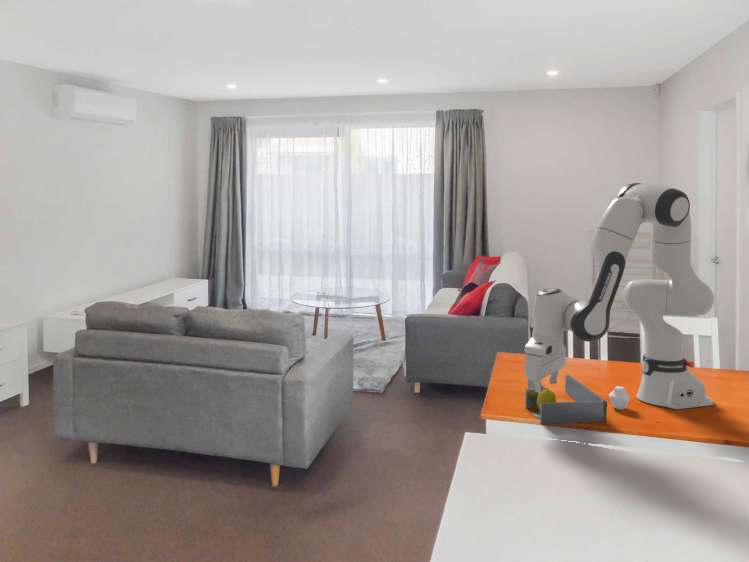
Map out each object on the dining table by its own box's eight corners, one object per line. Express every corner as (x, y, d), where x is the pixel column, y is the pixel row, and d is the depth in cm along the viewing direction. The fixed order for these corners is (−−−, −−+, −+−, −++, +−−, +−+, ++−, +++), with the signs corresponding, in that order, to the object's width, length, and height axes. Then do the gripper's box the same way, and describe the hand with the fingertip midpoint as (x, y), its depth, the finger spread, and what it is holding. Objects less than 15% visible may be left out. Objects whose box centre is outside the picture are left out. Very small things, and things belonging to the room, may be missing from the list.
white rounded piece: (604, 404, 192) (606, 383, 191) (623, 404, 192) (624, 382, 191) (614, 411, 186) (615, 389, 185) (633, 411, 186) (634, 388, 185)
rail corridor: (568, 391, 204) (568, 374, 204) (606, 421, 177) (607, 401, 176) (511, 393, 203) (512, 376, 202) (541, 423, 176) (541, 403, 175)
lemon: (556, 418, 180) (557, 392, 179) (537, 416, 181) (538, 390, 180) (554, 411, 185) (555, 386, 184) (535, 410, 186) (536, 385, 185)
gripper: (552, 334, 190) (551, 377, 193) (521, 348, 175) (520, 394, 177) (572, 337, 186) (570, 381, 188) (542, 352, 171) (540, 399, 173)
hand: (546, 387), depth 183 cm, fingers open, 8 cm apart
